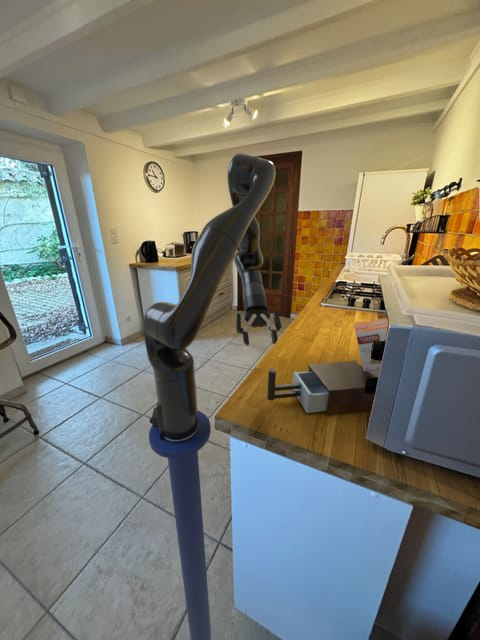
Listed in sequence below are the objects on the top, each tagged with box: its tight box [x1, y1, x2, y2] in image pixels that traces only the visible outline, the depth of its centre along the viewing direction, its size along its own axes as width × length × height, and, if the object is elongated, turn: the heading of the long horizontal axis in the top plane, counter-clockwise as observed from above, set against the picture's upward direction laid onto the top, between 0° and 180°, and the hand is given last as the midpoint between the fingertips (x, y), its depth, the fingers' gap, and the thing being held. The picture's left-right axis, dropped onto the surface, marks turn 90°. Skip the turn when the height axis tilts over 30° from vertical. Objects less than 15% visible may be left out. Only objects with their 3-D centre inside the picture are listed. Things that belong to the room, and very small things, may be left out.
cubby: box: [307, 360, 374, 415], centre depth 73 cm, size 16×14×8 cm
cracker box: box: [353, 317, 388, 377], centre depth 72 cm, size 14×6×21 cm, turn 71°
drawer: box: [266, 368, 329, 414], centre depth 71 cm, size 23×11×10 cm, turn 99°
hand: (261, 344), depth 78 cm, fingers open, 8 cm apart
